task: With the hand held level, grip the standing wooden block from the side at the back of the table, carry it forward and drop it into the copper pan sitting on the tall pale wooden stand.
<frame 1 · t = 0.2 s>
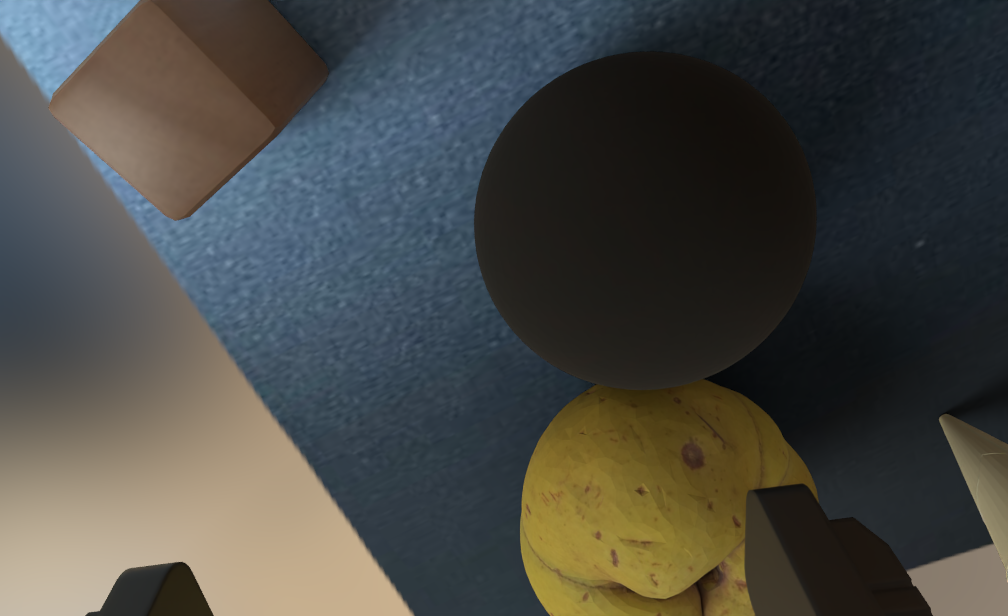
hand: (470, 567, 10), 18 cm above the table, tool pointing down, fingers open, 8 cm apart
wooden block: (251, 61, 24), on the table
ice cream cone: (941, 415, 33), on the table
decorative ball: (607, 173, 27), on the table
fruit: (633, 429, 32), on the table
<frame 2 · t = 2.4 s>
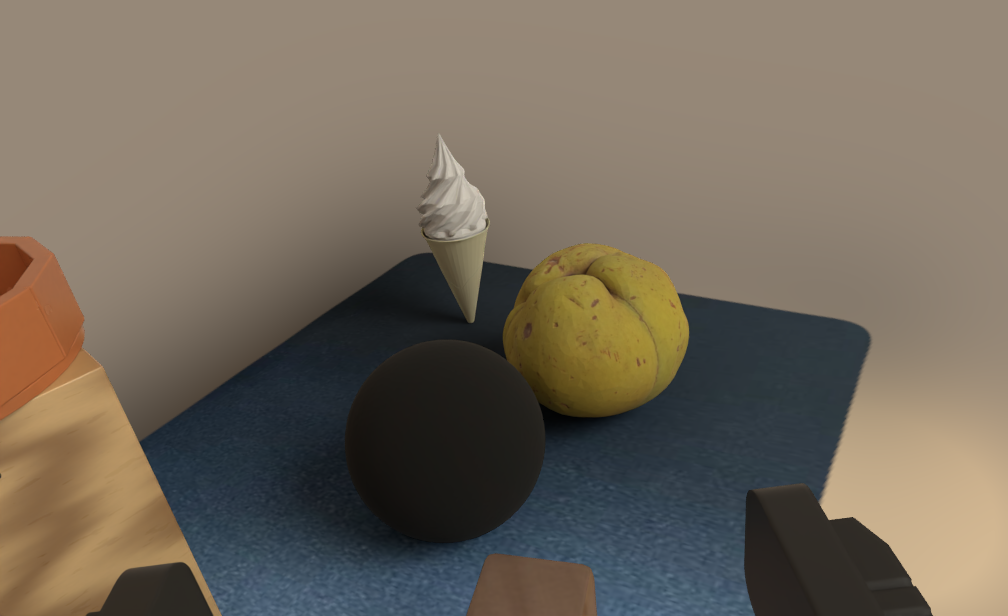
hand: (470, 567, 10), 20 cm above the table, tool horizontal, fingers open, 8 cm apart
ice cream cone: (471, 323, 56), on the table
decorative ball: (461, 512, 39), on the table
fruit: (598, 401, 46), on the table
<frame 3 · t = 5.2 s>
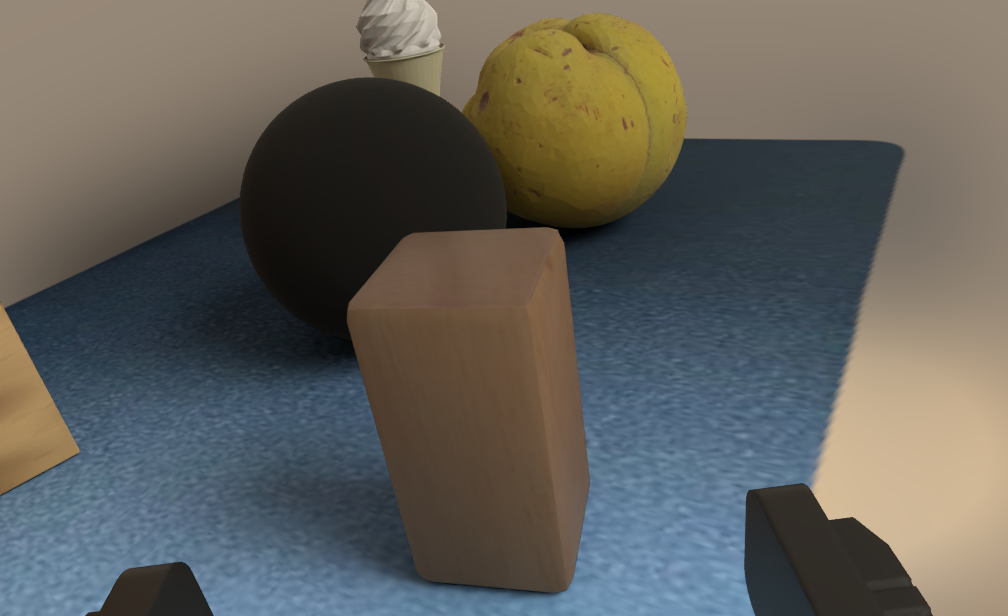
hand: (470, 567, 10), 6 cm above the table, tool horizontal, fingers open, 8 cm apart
wooden block: (509, 537, 19), on the table
ice cream cone: (429, 181, 48), on the table
decorative ball: (404, 328, 30), on the table
fruit: (578, 225, 37), on the table
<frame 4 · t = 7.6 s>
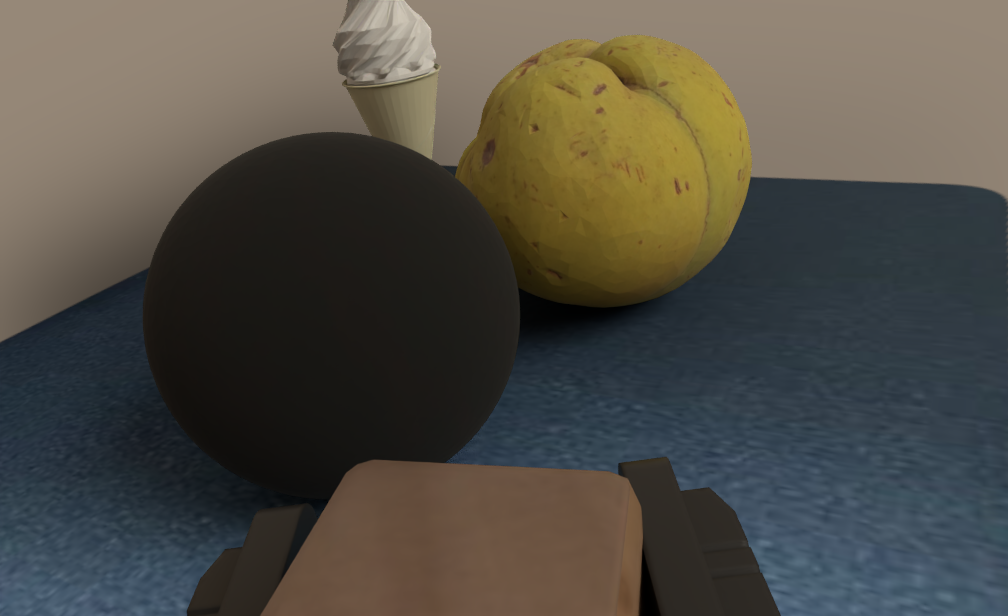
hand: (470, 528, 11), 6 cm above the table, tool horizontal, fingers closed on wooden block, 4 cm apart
ice cream cone: (422, 226, 40), on the table
decorative ball: (382, 458, 23), on the table
fruit: (606, 298, 30), on the table
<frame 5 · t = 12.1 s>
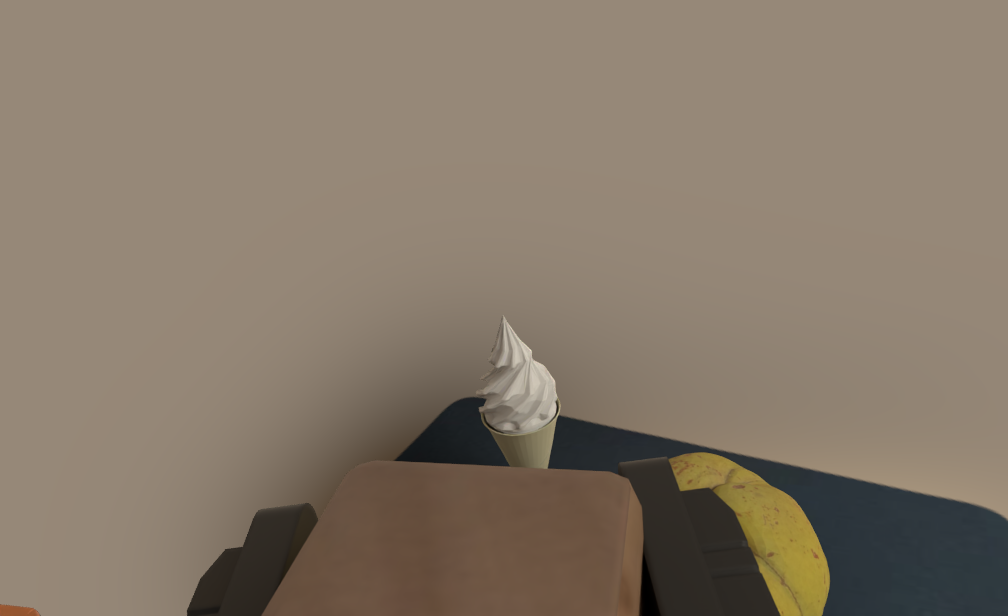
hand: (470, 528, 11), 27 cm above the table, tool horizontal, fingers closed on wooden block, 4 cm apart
ice cream cone: (537, 506, 49), on the table
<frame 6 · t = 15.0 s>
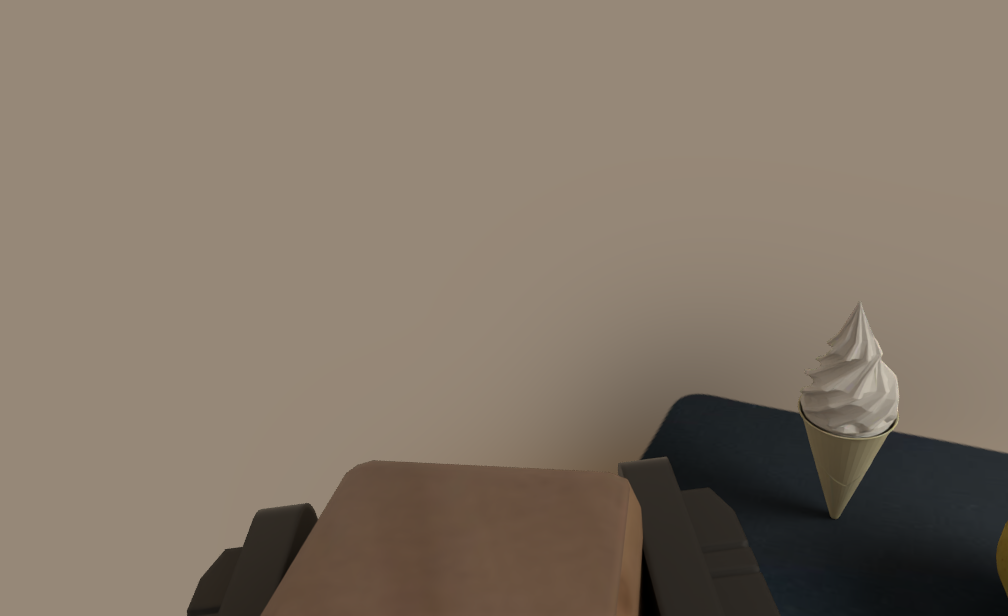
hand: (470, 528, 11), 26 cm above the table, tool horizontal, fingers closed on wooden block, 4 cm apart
ice cream cone: (834, 518, 43), on the table
when the fingers open (22 cm above the table, at t = 16.9 s): wooden block stays where it is, resting on pan.
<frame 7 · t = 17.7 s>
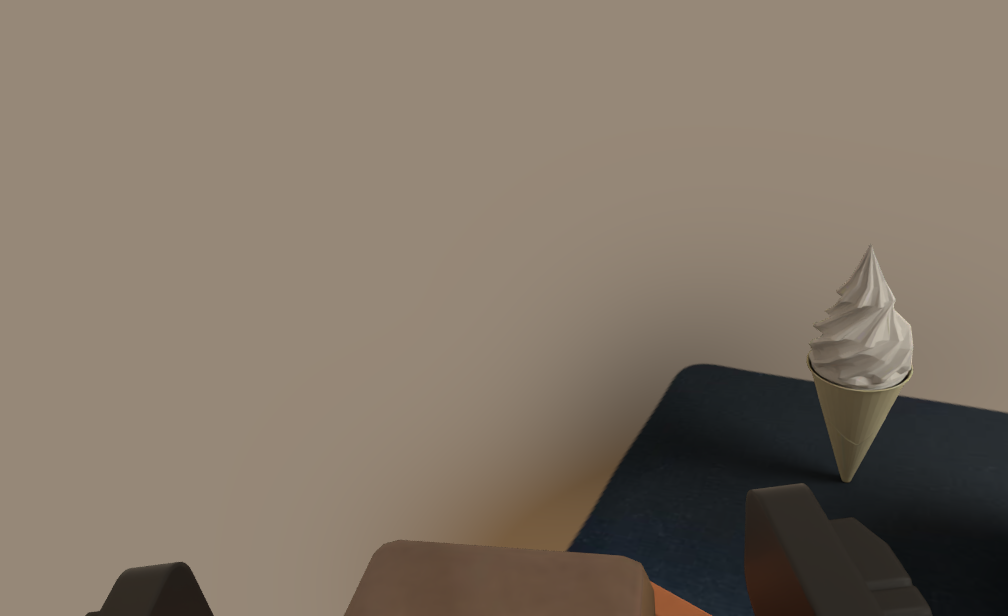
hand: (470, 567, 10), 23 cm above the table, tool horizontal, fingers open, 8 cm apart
ice cream cone: (845, 482, 42), on the table
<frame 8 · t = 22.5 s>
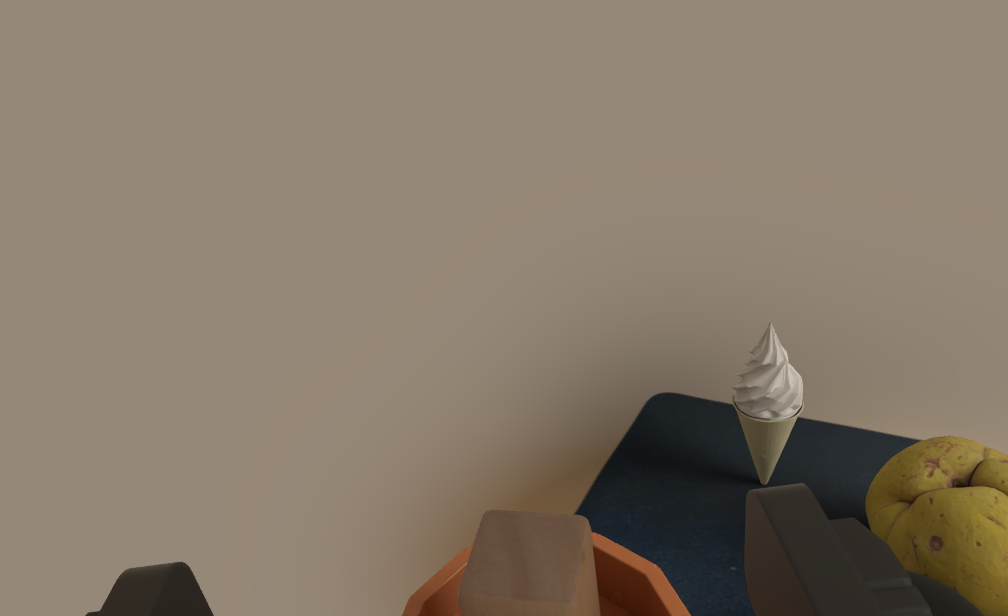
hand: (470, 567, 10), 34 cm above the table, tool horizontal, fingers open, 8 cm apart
ice cream cone: (763, 484, 57), on the table
fruit: (954, 586, 47), on the table
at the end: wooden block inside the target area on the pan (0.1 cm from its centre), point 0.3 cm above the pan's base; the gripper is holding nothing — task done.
